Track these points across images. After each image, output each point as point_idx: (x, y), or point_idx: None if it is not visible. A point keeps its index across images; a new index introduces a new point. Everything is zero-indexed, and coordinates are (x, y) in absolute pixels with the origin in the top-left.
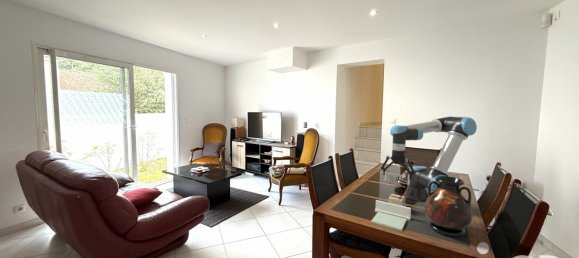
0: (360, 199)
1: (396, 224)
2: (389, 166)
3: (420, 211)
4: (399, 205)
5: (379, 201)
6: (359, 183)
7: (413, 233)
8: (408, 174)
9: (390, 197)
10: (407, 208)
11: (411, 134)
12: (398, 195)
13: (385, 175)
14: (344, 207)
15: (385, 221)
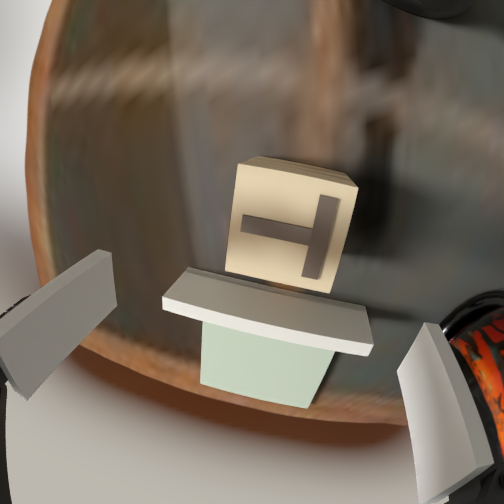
0: (92, 158)
1: (291, 389)
2: (10, 498)
3: (436, 187)
4: (307, 335)
5: (183, 311)
6: None
7: (345, 404)
8: (438, 495)
9: (238, 260)
10: (350, 352)
11: None
12: (304, 177)
13: (63, 350)
14: None
15: (248, 379)
